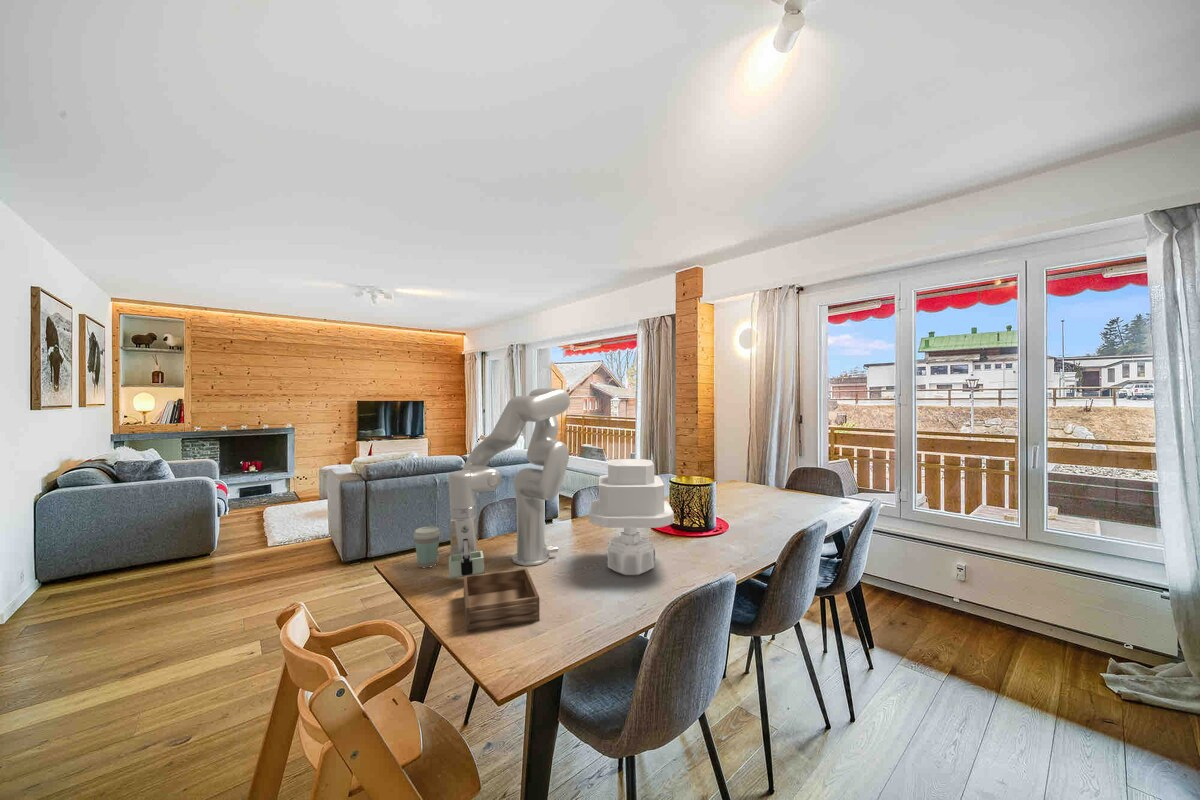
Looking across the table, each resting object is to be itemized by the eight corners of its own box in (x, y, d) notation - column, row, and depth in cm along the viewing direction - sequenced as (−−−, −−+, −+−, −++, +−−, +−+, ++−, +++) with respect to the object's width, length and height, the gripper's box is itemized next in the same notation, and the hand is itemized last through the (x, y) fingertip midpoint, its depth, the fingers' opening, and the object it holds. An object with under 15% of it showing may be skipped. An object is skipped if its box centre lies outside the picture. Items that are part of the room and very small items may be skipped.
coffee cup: (446, 562, 157) (445, 527, 157) (429, 571, 149) (428, 534, 149) (425, 559, 160) (425, 524, 159) (407, 568, 152) (407, 532, 151)
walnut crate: (527, 588, 136) (526, 568, 136) (540, 622, 116) (540, 598, 116) (463, 597, 130) (463, 576, 130) (466, 634, 110) (465, 609, 110)
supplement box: (477, 552, 166) (477, 516, 165) (472, 557, 161) (472, 520, 161) (455, 552, 166) (455, 516, 166) (450, 557, 162) (449, 520, 161)
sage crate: (483, 565, 144) (482, 550, 144) (484, 573, 138) (483, 557, 138) (449, 571, 141) (448, 555, 141) (449, 579, 135) (448, 563, 135)
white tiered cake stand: (676, 585, 138) (677, 469, 137) (588, 584, 138) (587, 469, 137) (665, 553, 164) (665, 456, 164) (591, 553, 165) (591, 456, 164)
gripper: (477, 518, 131) (481, 579, 133) (474, 502, 148) (477, 557, 149) (450, 522, 129) (454, 584, 130) (450, 505, 146) (453, 561, 147)
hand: (466, 569), depth 140 cm, fingers closed on sage crate, 6 cm apart
